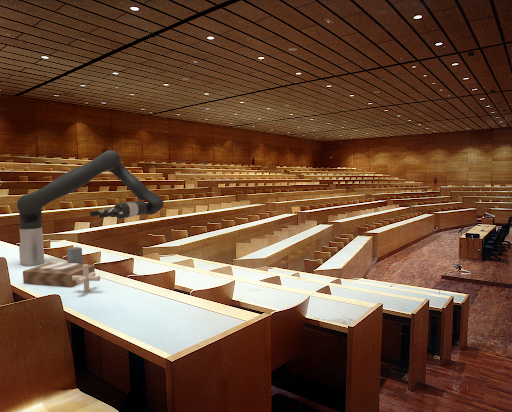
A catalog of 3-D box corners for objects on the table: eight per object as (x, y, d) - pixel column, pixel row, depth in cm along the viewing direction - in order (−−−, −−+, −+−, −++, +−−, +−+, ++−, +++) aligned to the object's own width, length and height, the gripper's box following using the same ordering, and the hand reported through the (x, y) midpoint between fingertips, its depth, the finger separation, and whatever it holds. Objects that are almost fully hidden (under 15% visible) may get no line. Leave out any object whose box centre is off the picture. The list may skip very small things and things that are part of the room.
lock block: (67, 270, 167) (66, 248, 166) (77, 268, 171) (76, 246, 170) (73, 272, 164) (71, 249, 163) (83, 269, 168) (81, 248, 167)
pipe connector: (106, 287, 143) (105, 261, 142) (92, 296, 133) (91, 268, 132) (81, 286, 144) (80, 261, 143) (66, 295, 134) (64, 268, 133)
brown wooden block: (23, 283, 149) (22, 268, 148) (50, 273, 162) (49, 260, 162) (71, 287, 144) (70, 271, 143) (94, 276, 157) (94, 262, 157)
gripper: (117, 201, 189) (86, 206, 176) (133, 203, 180) (101, 207, 167) (119, 216, 190) (87, 221, 177) (135, 218, 181) (103, 224, 168)
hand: (94, 214), depth 172 cm, fingers open, 8 cm apart
